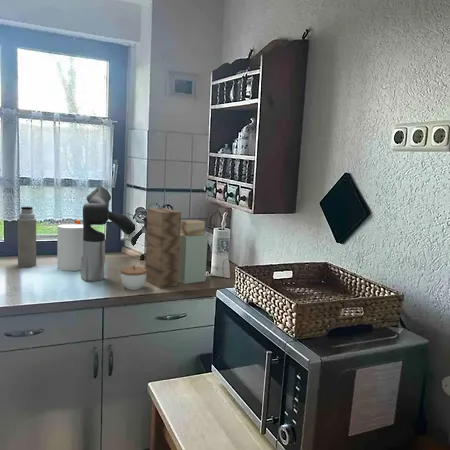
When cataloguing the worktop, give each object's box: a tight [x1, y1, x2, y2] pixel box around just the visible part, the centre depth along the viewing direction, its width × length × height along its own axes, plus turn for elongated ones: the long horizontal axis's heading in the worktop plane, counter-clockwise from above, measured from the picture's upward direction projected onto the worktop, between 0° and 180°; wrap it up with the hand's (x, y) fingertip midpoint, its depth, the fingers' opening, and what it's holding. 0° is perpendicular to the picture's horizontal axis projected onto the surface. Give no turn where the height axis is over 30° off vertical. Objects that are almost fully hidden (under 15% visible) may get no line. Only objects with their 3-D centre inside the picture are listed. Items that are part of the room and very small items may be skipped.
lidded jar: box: [120, 265, 147, 291], centre depth 187 cm, size 11×11×9 cm
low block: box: [178, 234, 209, 285], centre depth 204 cm, size 11×13×21 cm
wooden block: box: [180, 219, 206, 236], centre depth 208 cm, size 24×9×6 cm, turn 35°
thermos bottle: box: [17, 206, 37, 268], centre depth 212 cm, size 8×8×28 cm
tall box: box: [144, 207, 182, 289], centre depth 195 cm, size 9×14×32 cm, turn 35°
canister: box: [56, 223, 83, 271], centre depth 214 cm, size 14×14×20 cm
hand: (164, 215), depth 222 cm, fingers open, 8 cm apart
